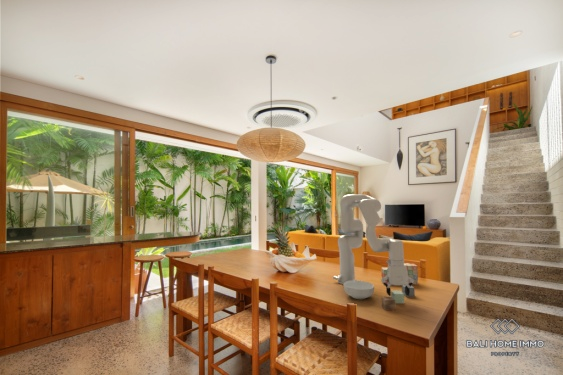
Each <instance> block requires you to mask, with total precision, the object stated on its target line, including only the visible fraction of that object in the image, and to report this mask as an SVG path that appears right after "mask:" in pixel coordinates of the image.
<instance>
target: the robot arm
mask: <svg viewBox="0 0 563 375" xmlns="http://www.w3.org/2000/svg"><path fill="white" fill-rule="evenodd" d="M339 206H340V231H341V232H342V233H344V234H343V235H340V236H339V237H338V239H337V245H338V250H339V274H338V275H337V276H336V275H333V276H332V279H333V280H337V283H338V284H340V285H344V282H346V281H352V280H356V276H355V275H356V274H355V255H354V251H352V249H358V248H361V247H362V245H363V241H364V240H363V239H364V225H363V222H362V220H361V219H359V218H355V212H354V210H353V208H359V210H360V212H361V215H362V217H363V219H364V221H365V224H366V230H365V238H366V241H367V243H368V245H369V247H370V249H371V250H372V251H373V252H374V253H384V252H385V253H386V252H388V260H386V264H387V268H388V269H387V276H386V277H384V278H382V277H381V278H380V280H381V283H382V284H383V286H384V287H386V294H387V295H388V297H391V291H392V290H391V286H402V285H406V286H405V294H406V295H408V296H409V293H410V290H409V288H410V286H413V285H414V284H413V282H414V279H412V278H410V277H408V273H407V268H406V266H405V265H404V263H405V254H404V253H405V252H404V242H403V241H402V240H401V239H394V238H390V237H380V238H378V236H377V232H376V226H378V225H379V224H380V223H381V222H382V219H381V217H380V215H379V213H378V212H380V211H381V210H382V204H381V202H380V200H378V199H377V198H375V197H372V196H370V195H367V194H361V193H360V194H358V193H357V194H356V193H355V194H354V193H353V194H346V195H343V197H341V198H340V202H339ZM408 279H409V280H410V282H409V280H408ZM385 280H387V284H386V283H385Z"/></svg>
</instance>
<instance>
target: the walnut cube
mask: <svg viewBox="0 0 563 375" xmlns="http://www.w3.org/2000/svg"><path fill="white" fill-rule="evenodd" d="M381 307H382V308H383V309H384V310H385V311H396V303H395V300H394V299H393V298H392V297H391V296H381Z"/></svg>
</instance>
